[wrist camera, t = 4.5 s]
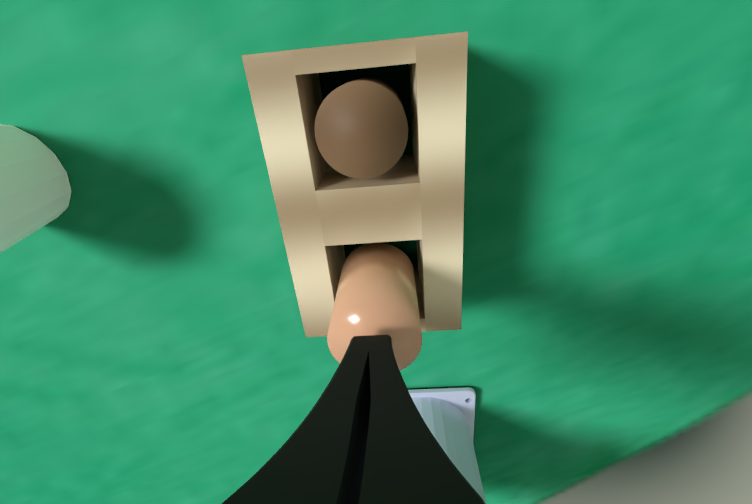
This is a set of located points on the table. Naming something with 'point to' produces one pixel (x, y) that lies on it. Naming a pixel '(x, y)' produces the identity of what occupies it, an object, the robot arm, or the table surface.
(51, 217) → the white cup
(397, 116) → the walnut peg
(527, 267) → the table surface
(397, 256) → the terracotta peg
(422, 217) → the maple block
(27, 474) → the table surface
